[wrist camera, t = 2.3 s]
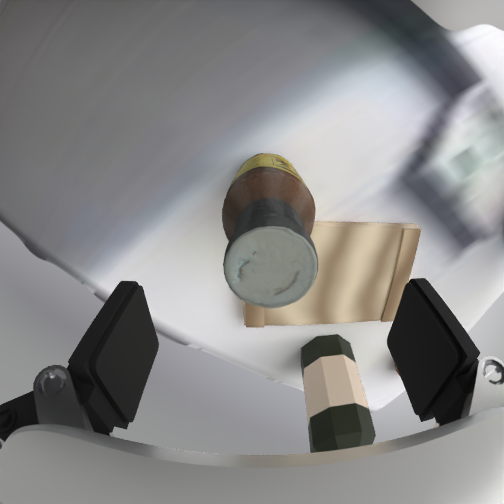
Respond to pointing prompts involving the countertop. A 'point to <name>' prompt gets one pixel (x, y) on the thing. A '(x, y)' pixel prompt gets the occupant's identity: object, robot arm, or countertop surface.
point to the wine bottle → (334, 396)
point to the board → (350, 276)
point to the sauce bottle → (269, 233)
